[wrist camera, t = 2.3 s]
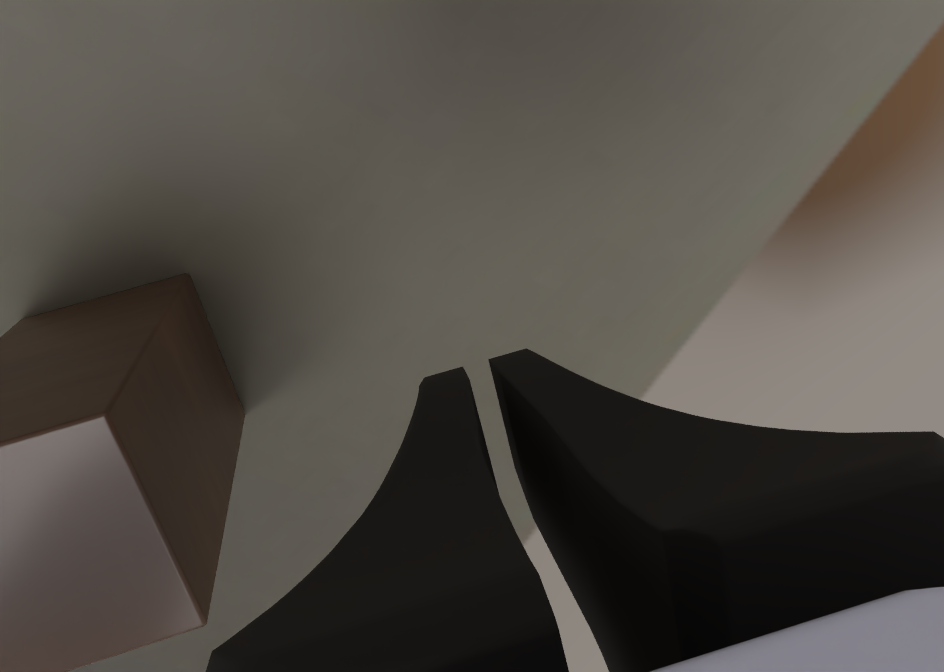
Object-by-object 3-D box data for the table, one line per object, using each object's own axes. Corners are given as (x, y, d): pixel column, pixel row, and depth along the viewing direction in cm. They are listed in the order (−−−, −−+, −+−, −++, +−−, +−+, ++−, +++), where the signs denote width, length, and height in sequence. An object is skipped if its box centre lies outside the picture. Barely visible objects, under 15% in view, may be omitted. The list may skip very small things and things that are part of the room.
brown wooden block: (246, 415, 22) (207, 627, 14) (90, 463, 21) (-48, 711, 13) (189, 272, 20) (106, 411, 12) (19, 319, 20) (-190, 499, 11)
